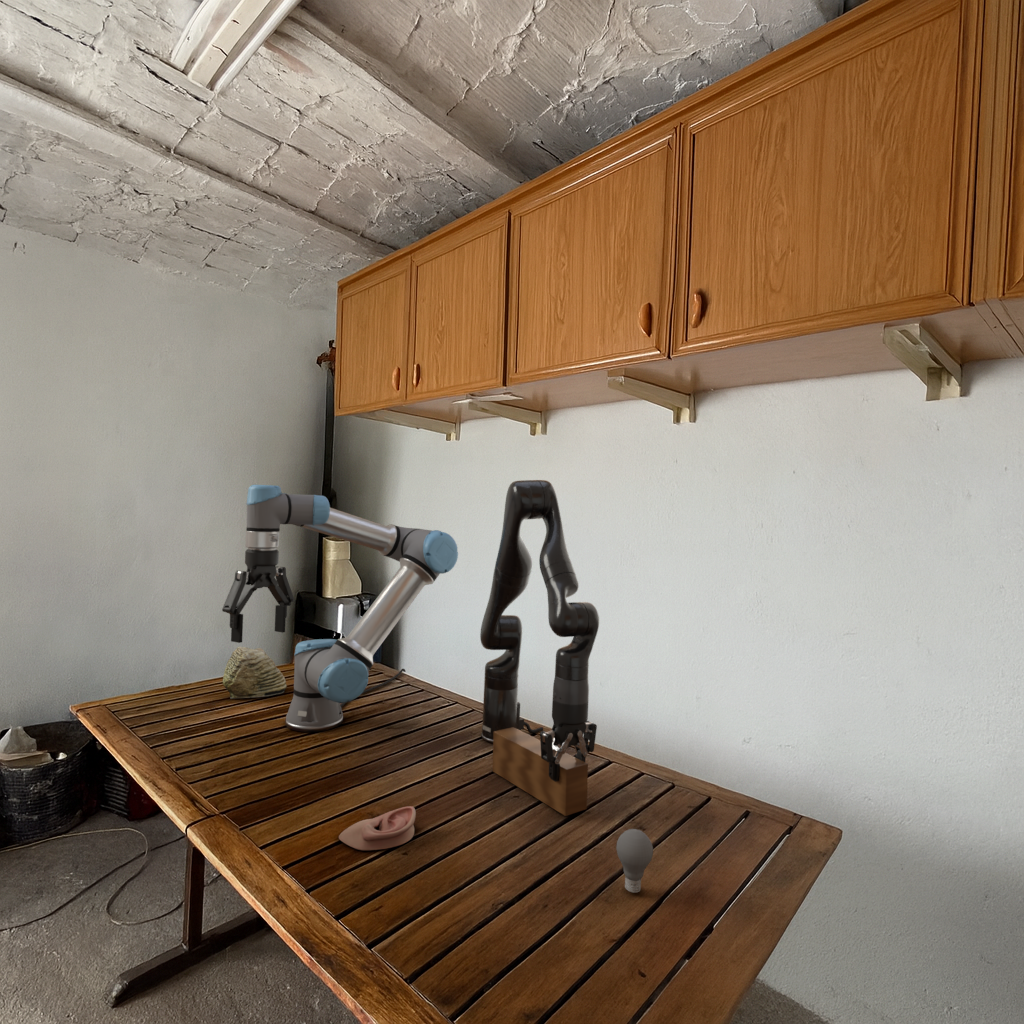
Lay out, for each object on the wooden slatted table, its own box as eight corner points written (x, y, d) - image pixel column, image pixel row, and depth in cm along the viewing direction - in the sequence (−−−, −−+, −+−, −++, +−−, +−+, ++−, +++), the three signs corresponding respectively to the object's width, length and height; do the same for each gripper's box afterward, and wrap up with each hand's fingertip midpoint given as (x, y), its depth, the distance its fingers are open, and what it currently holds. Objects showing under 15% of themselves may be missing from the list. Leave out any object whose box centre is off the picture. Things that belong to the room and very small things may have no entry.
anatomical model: (331, 824, 115) (359, 795, 126) (330, 845, 115) (358, 815, 126) (400, 835, 112) (422, 805, 124) (399, 857, 112) (421, 825, 124)
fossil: (218, 695, 195) (220, 647, 195) (278, 685, 208) (279, 640, 207) (228, 703, 189) (230, 653, 188) (289, 692, 201) (290, 645, 201)
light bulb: (610, 879, 108) (613, 822, 108) (644, 879, 109) (647, 822, 109) (619, 902, 102) (622, 840, 102) (655, 901, 103) (658, 840, 103)
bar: (492, 771, 150) (493, 731, 150) (512, 766, 154) (513, 726, 154) (565, 816, 129) (566, 769, 129) (586, 809, 132) (588, 763, 132)
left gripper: (232, 553, 139) (228, 648, 140) (310, 547, 162) (307, 629, 163) (207, 550, 143) (204, 644, 143) (287, 545, 165) (284, 626, 166)
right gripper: (555, 707, 125) (551, 791, 126) (608, 697, 134) (604, 775, 134) (532, 697, 132) (528, 777, 132) (584, 687, 140) (580, 762, 140)
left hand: (259, 636), depth 153 cm, fingers open, 13 cm apart
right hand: (567, 776), depth 133 cm, fingers open, 6 cm apart
